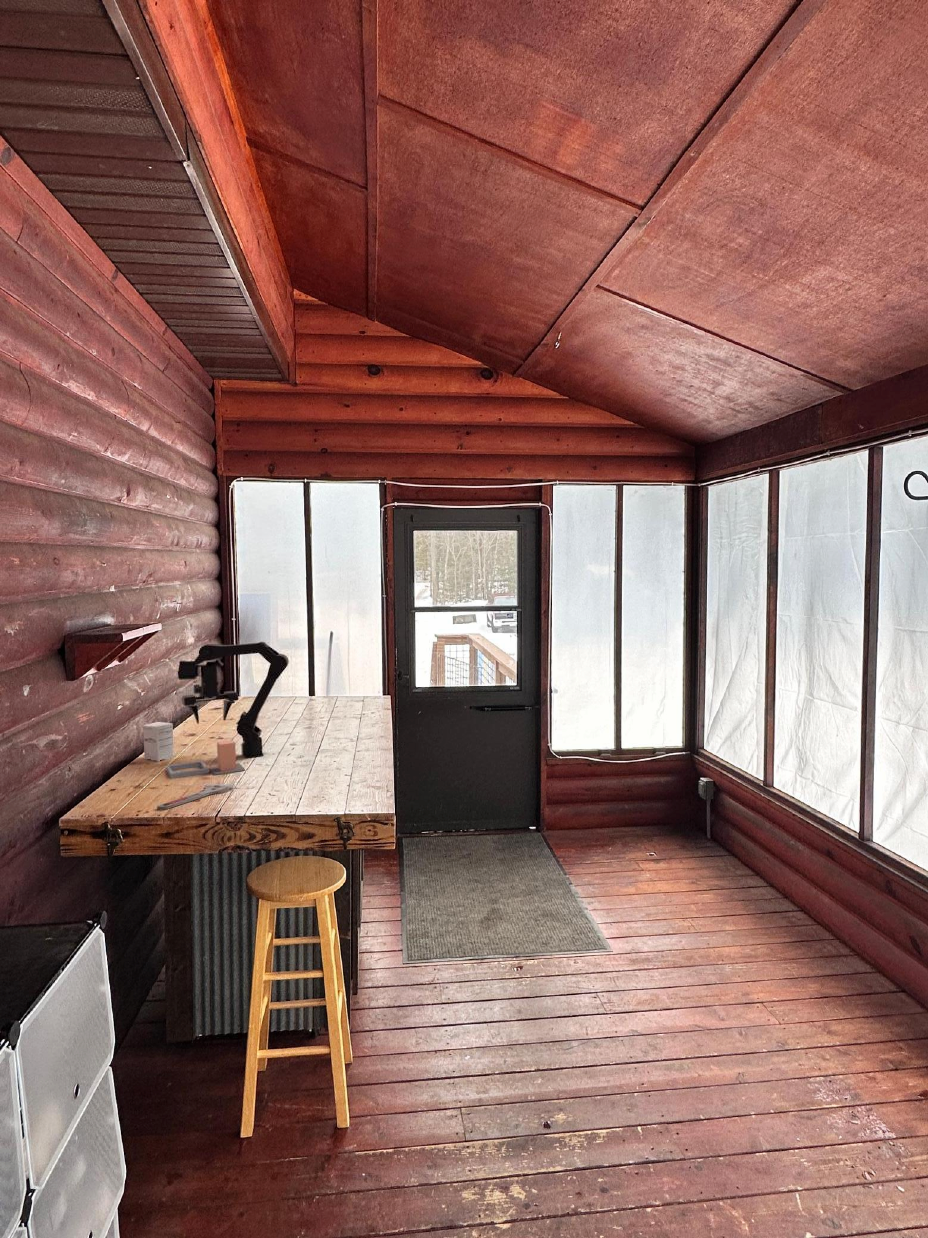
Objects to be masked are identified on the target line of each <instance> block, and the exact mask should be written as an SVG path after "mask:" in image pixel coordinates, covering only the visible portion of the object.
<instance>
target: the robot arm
mask: <svg viewBox="0 0 928 1238" xmlns="http://www.w3.org/2000/svg"><path fill="white" fill-rule="evenodd" d="M251 654H252V655H253V654H259V655H260V656H261V657H262V658H264V659H265V661H266V662H268V663H269V667H268V671H267V674H266V677H265V679H264V680H263V683H262V685H261V687H260V688H259V691H258V693H257V694H256V696H255V698H254V700H253V702H252V704H251V706H250V707H249V710H248V711H247V712H246V711H245V710H244V711H242V712H241V714H240V718H239V720H238V721H237V722H236V724H235V725H236V731H237V734H238V735H239V736H241V738H242V743H241V744H240V746H241V747H240V748H241V755H242V756H243V757H244V758H245V759H250V758H257V757H263V756H265V754H264V753H263V738H262V737H261V735H262V732H263V730H262V729H261V728H260V727H258V726H257V723H258V719H259V717H260V716H259V715H260V712H261V710H262V708H263V707H264V704H265V703H266V701H267V699H268V697H269V695H270V693H271V691H272V690H273V687H274V686H275V683H276V681H277V680H278V679H279V677H281V675H282V674H283V672H284V671H285V670H286V668H287V667H288V666H289V663H290V660H289V658H288V656H287V655H285V654H284V653H279V652H278V651H277V650H275V649H274V648H273V647H271V646H270V645H269V644H268V643H266V642H265V641H259V642H250V643H248V642H247V643H240V644H239V643H238V644H227V645H226V644H220V643H211V642H210V643H207V644H204V645H202V646H201V647H200V648H199V650H198V655H197V657H196V658H195V659H194V660H180V661H179V662H178V663H179V665H178V668H177V669H178V670H177V677H178V680H179V681H181V680H182V681H184V680H185V681H186V680H197V679H198V677H200V684H193V694H190V695H189V694H188V695H182V697H181V705H183V706H185V707H187V708H190V710H191V712H192V714H193V716H194V719H195V721H196V724H199V723H200V722H199V721H200V718H199V710H198V708H199V707H198V705H197V704H196V703H198V702H199V703H200V702H209V701H210V702H211V701H212V702H213V701H220V700H221V701H222V703H223V713H222V719H223V721H226V719H227V716H228V714H229V711H230V709H231V706H232V705H233V704H235V703H236V701H239V698H240V697H239V693H237V691H234V690H232V691H224V692H223V694H220V693H219V678H218V677H219V672H218V668H219V667H222V666H224V662H222V661H221V660H220V659H221V658H224V657H230V656H241V655H251ZM213 660H215V661H213ZM203 662H206V664H204V663H203ZM202 663H203V664H202ZM196 695H199V696H196Z"/></svg>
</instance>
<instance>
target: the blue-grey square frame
mask: <svg viewBox="0 0 928 1238" xmlns="http://www.w3.org/2000/svg"><path fill="white" fill-rule="evenodd" d="M197 767H200V768H198V769H191V768H197ZM183 769H190V770H184V771H177V772H173V771H176V770H183ZM166 771H167V774H168V775H169V777H170V779H177V778H185V777H190V776H198V775H203V774H209V767H208V766H207V764H205V763H204V761H203V760H199V761H193V762H184V763H178V764H170V765H166Z"/></svg>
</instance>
